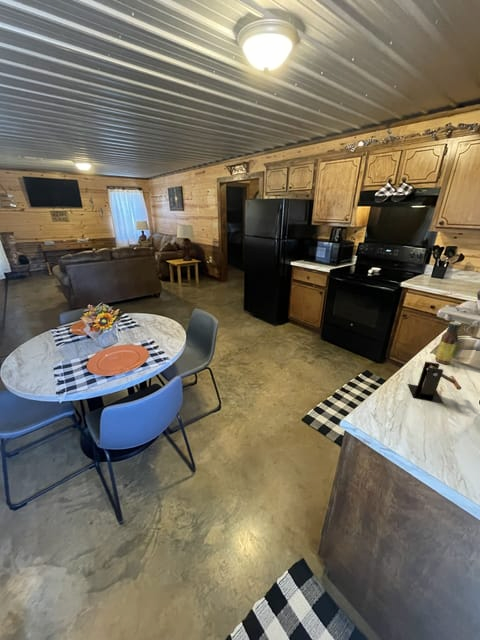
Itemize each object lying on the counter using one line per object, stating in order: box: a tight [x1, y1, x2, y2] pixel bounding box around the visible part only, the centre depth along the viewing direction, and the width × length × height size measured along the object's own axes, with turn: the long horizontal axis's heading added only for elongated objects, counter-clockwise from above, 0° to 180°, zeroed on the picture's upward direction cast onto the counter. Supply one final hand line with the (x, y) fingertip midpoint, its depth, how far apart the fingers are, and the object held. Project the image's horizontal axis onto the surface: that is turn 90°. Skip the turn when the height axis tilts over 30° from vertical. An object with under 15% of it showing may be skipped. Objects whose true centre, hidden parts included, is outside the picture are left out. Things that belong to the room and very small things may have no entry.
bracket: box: [407, 361, 444, 405], centre depth 100 cm, size 10×9×14 cm
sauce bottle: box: [434, 321, 461, 365], centre depth 123 cm, size 7×6×20 cm
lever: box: [426, 365, 462, 391], centre depth 98 cm, size 11×7×2 cm, turn 72°
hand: (459, 321), depth 127 cm, fingers open, 8 cm apart
